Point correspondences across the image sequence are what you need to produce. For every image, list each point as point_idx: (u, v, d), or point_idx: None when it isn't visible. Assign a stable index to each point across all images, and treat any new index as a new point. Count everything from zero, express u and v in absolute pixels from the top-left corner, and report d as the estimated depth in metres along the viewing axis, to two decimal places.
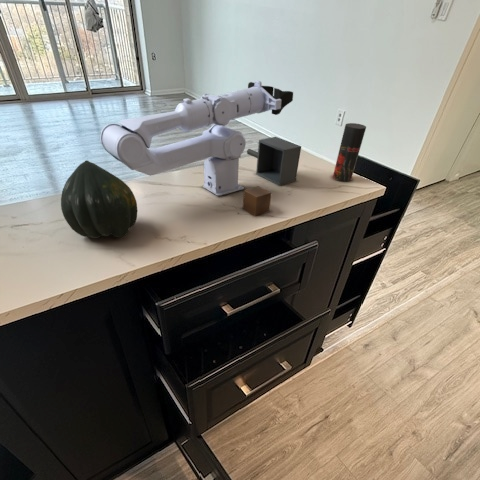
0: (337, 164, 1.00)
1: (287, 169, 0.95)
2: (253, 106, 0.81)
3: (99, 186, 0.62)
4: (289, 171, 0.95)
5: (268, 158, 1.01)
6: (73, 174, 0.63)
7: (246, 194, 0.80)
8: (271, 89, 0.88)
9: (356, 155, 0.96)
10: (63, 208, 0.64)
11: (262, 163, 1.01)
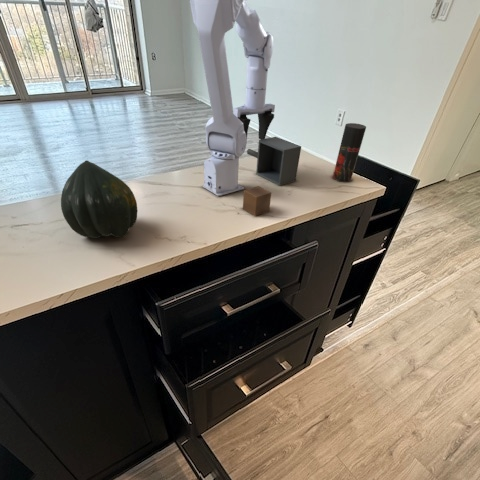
0: (337, 164, 1.00)
1: (287, 169, 0.95)
2: None
3: (99, 186, 0.62)
4: (289, 171, 0.95)
5: (268, 158, 1.01)
6: (73, 174, 0.63)
7: (246, 194, 0.80)
8: None
9: (356, 155, 0.96)
10: (63, 208, 0.64)
11: (262, 163, 1.01)
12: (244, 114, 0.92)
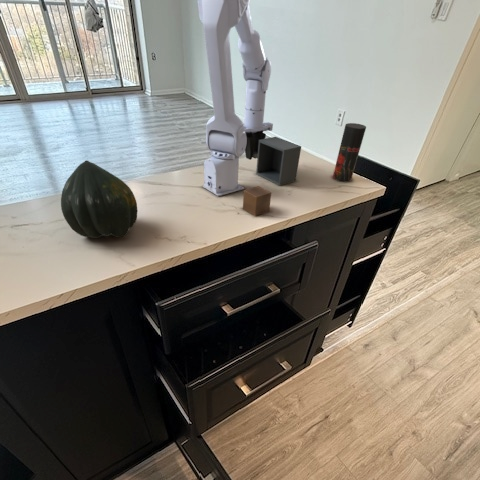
0: (337, 164, 1.00)
1: (287, 169, 0.95)
2: None
3: (99, 186, 0.62)
4: (289, 171, 0.95)
5: (268, 158, 1.01)
6: (73, 174, 0.63)
7: (246, 194, 0.80)
8: None
9: (356, 155, 0.96)
10: (63, 208, 0.64)
11: (262, 163, 1.01)
12: (250, 132, 0.96)
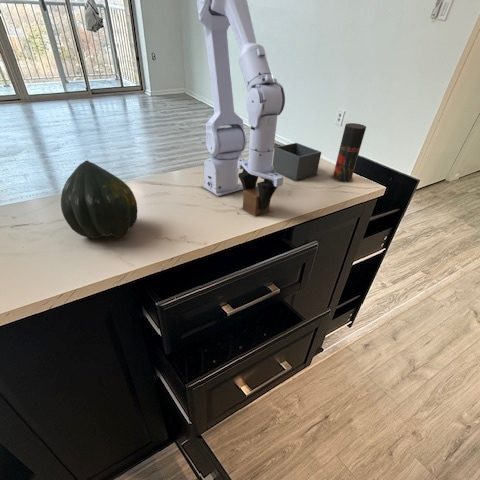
0: (337, 164, 0.99)
1: (307, 163, 0.99)
2: (267, 156, 0.72)
3: (99, 186, 0.62)
4: (305, 167, 0.99)
5: None
6: (73, 174, 0.63)
7: (246, 194, 0.80)
8: None
9: (356, 155, 0.96)
10: (63, 208, 0.64)
11: None
12: None
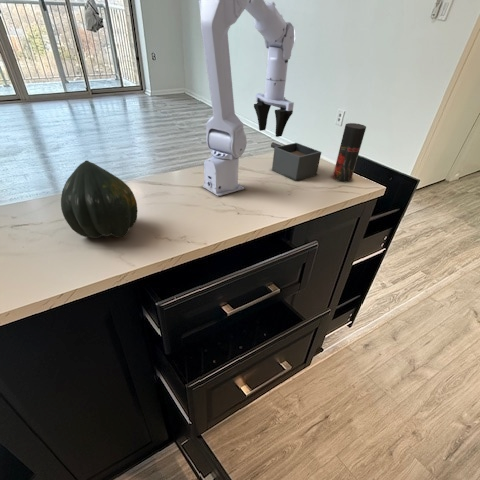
0: (337, 164, 0.99)
1: (307, 163, 0.99)
2: (280, 85, 0.89)
3: (99, 186, 0.62)
4: (305, 167, 0.99)
5: None
6: (73, 174, 0.63)
7: None
8: (264, 127, 1.01)
9: (356, 155, 0.96)
10: (63, 208, 0.64)
11: None
12: (262, 101, 0.96)
